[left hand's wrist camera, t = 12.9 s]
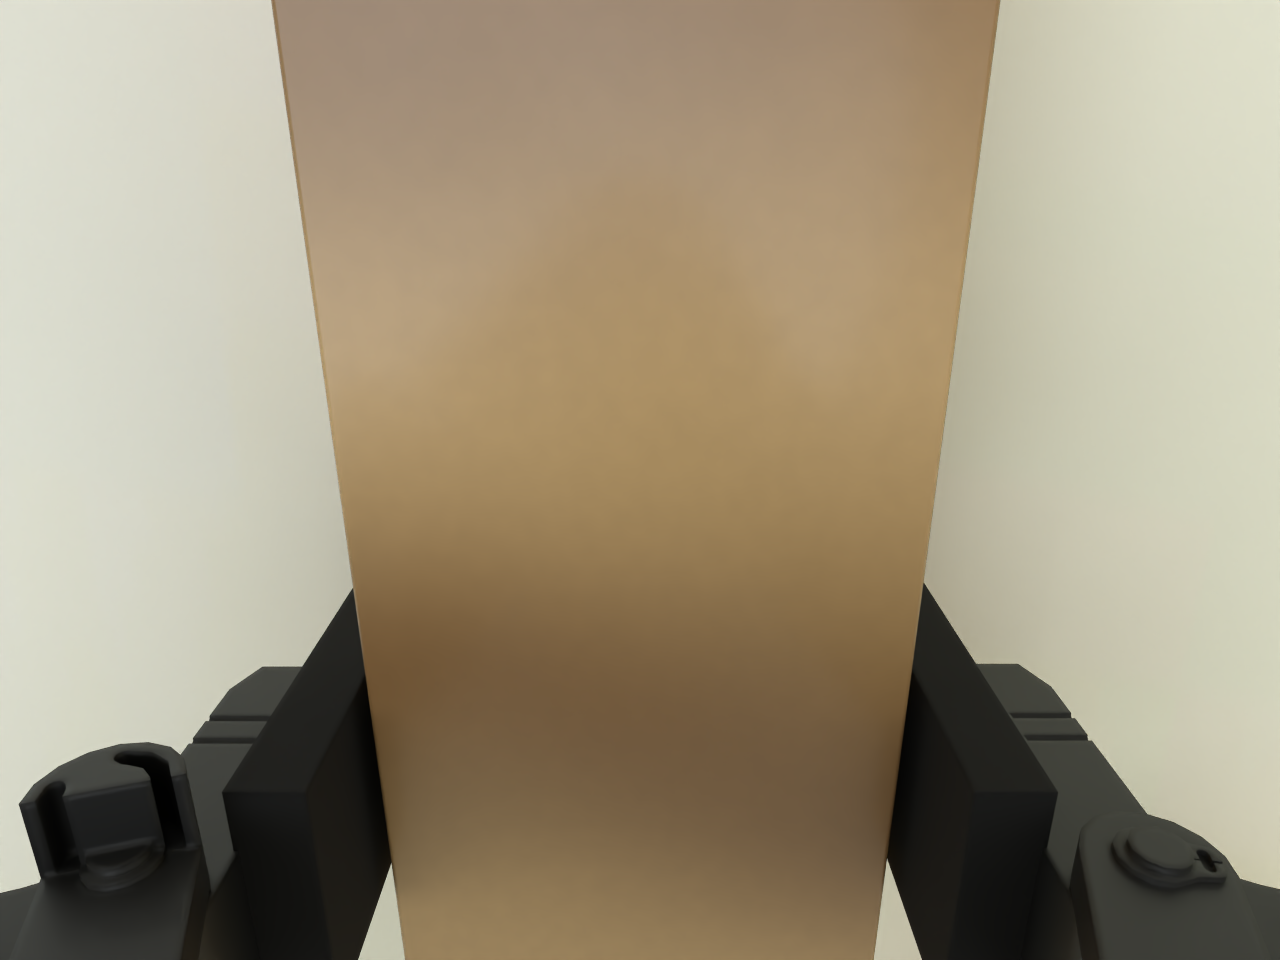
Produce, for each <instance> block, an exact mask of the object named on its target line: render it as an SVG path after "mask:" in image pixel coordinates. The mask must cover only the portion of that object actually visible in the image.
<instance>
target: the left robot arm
mask: <svg viewBox="0 0 1280 960" xmlns="http://www.w3.org/2000/svg"><path fill="white" fill-rule="evenodd" d="M19 807H20V810H21V813H22V817H23V820H24V823H25V827H26V830H27V833H28V837H29V840H30V843H31V847H32V850H33V853H34V857H35V860H36V863H37V867H38V870H39V873H40V877H41V880H40V882H39V883H37V884H34V885H31V886H27V887H24V888H20V889H16V890H12V891H7V892H3V893H0V960H358V958H359V955H360V952H361V949H362V946H363V943H364V941H365V938H366V935H367V932H368V929H369V926H370V923H371V920H372V917H373V914H374V912H375V909H376V906H377V903H378V900H379V897H380V894H381V891H382V888H383V885H384V882H385V880H386V877H387V874H388V871H389V868H390V865H391V855H390V848H389V840H388V833H387V826H386V819H385V812H384V805H383V797H382V790H381V783H380V776H379V769H378V762H377V754H376V747H375V740H374V733H373V726H372V719H371V712H370V704H369V697H368V690H367V683H366V676H365V669H364V661H363V654H362V647H361V640H360V633H359V626H358V618H357V611H356V604H355V597H354V590H353V589H352V590H351V592H350V593H349V595H348V596H347V598H346V600H345V601H344V603H343V604H342V606H341V607H340V609H339V610H338V612H337V614H336V615H335V617H334V618H333V620H332V621H331V623H330V624H329V626H328V628H327V629H326V631H325V632H324V634H323V635H322V637H321V638H320V640H319V642H318V643H317V645H316V646H315V648H314V649H313V651H312V652H311V654H310V656H309V657H308V659H307V660H306V662H305V663H304V665H303V666H302V667H261V668H260V669H259V670H257V671H256V672H254V673H253V674H251V675H250V676H248V677H247V678H245V679H244V680H243V681H241V682H240V683H238V684H237V685H235V686H234V687H232V688H231V689H230V690H229V691H228V692H227V694H226V695H225V696H224V698H223V699H222V700H221V702H220V703H219V704H218V706H217V707H216V708H215V710H214V711H213V712H212V714H211V715H210V720H209V721H206V722H205V723H204V724H203V726H202V727H201V728H200V730H199V731H198V732H197V734H196V735H195V736H194V738H193V743H192V744H188V746H187V747H186V748H185V750H184V751H183V752H182V754H181V755H180V754H179V753H177V752H176V751H175V750H174V749H173V748H171V747H169V746H164V745H159V744H154V743H149V742H145V743H130V744H119V745H115V746H111V747H107V748H104V749H100V750H96V751H92V752H89V753H87V754H84V755H82V756H80V757H78V758H76V759H74V760H71V761H69V762H67V763H65V764H63V765H61V766H59V767H57V768H56V769H54V770H53V771H52V772H50V773H49V774H48V775H46V776H45V777H43V778H42V779H41V780H39V781H38V782H37V783H35V784H34V785H33V786H32V788H31V789H30V790H29V792H28V793H27V794H26V795H25V797H24V798H23V799H22V801H21V802H20V803H19ZM887 859H888V862H889V865H890V868H891V871H892V874H893V877H894V879H895V882H896V885H897V888H898V891H899V894H900V897H901V900H902V903H903V906H904V909H905V911H906V914H907V917H908V920H909V923H910V926H911V929H912V932H913V935H914V938H915V940H916V943H917V946H918V949H919V952H920V955H921V958H922V960H1280V889H1276V888H1272V887H1268V886H1263V885H1259V884H1256V883H1252V882H1249V881H1246V880H1242V879H1240V878H1239V876H1238V875H1237V873H1236V872H1235V870H1234V869H1233V867H1232V866H1231V864H1230V863H1229V861H1228V860H1227V858H1226V857H1225V856H1224V855H1223V854H1222V853H1220V852H1219V851H1218V850H1217V849H1216V848H1214V847H1213V846H1212V845H1211V844H1210V843H1208V842H1207V841H1206V840H1205V839H1204V838H1202V837H1201V836H1199V835H1197V834H1195V833H1193V832H1191V831H1189V830H1187V829H1186V828H1184V827H1182V826H1180V825H1178V824H1176V823H1174V822H1171V821H1168V820H1165V819H1161V818H1158V817H1155V816H1151V815H1148V814H1147V813H1146V812H1145V811H1144V809H1143V808H1142V807H1141V805H1140V804H1139V803H1138V801H1137V800H1136V799H1135V797H1134V796H1133V795H1132V793H1131V792H1130V791H1129V789H1128V788H1127V787H1126V785H1125V784H1124V783H1123V781H1122V780H1121V779H1120V777H1119V776H1118V775H1117V773H1116V772H1115V771H1114V770H1113V768H1112V767H1111V766H1110V764H1109V763H1108V762H1107V760H1106V759H1105V758H1104V756H1103V755H1102V754H1101V752H1100V751H1099V750H1098V748H1097V747H1096V746H1095V744H1094V743H1093V742H1092V741H1088V738H1087V734H1086V732H1085V731H1084V730H1083V728H1082V727H1081V726H1080V724H1079V723H1078V722H1077V720H1076V719H1075V718H1071V712H1070V711H1069V710H1068V708H1067V707H1066V706H1065V704H1064V703H1063V702H1062V701H1061V699H1060V698H1059V697H1058V695H1057V694H1056V693H1055V691H1054V690H1053V689H1052V687H1051V686H1049V685H1048V684H1046V683H1045V682H1044V681H1042V680H1041V679H1039V678H1038V677H1036V676H1035V675H1033V674H1032V673H1030V672H1029V671H1027V670H1026V669H1025V668H1023V667H1022V666H1020V665H1019V664H976V663H975V662H974V660H973V659H972V657H971V655H970V654H969V652H968V651H967V649H966V648H965V646H964V645H963V643H962V641H961V640H960V638H959V637H958V635H957V634H956V632H955V631H954V629H953V627H952V626H951V624H950V623H949V621H948V620H947V618H946V617H945V615H944V613H943V612H942V610H941V609H940V607H939V606H938V604H937V603H936V601H935V599H934V598H933V596H932V595H931V593H930V592H929V590H928V589H927V587H926V585H925V584H924V582H923V589H922V597H921V604H920V612H919V619H918V627H917V635H916V642H915V650H914V657H913V665H912V672H911V680H910V688H909V695H908V703H907V710H906V718H905V725H904V733H903V740H902V748H901V756H900V763H899V771H898V778H897V786H896V793H895V801H894V809H893V816H892V824H891V831H890V839H889V846H888V854H887Z"/></svg>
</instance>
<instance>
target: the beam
mask: <svg viewBox="0 0 1280 960" xmlns="http://www.w3.org/2000/svg"><path fill="white" fill-rule="evenodd" d="M271 3H272V10H273V17H274V24H275V31H276V38H277V46H278V53H279V60H280V67H281V74H282V81H283V89H284V96H285V103H286V110H287V117H288V124H289V131H290V139H291V146H292V153H293V160H294V167H295V174H296V182H297V189H298V196H299V203H300V210H301V217H302V225H303V232H304V239H305V246H306V253H307V260H308V268H309V275H310V282H311V289H312V296H313V303H314V311H315V318H316V325H317V332H318V339H319V346H320V353H321V361H322V368H323V375H324V382H325V389H326V396H327V404H328V411H329V418H330V425H331V432H332V439H333V447H334V454H335V461H336V468H337V475H338V482H339V490H340V497H341V504H342V511H343V518H344V525H345V532H346V540H347V547H348V554H349V561H350V568H351V575H352V583H353V590H354V597H355V604H356V611H357V618H358V626H359V633H360V640H361V647H362V654H363V661H364V669H365V676H366V683H367V690H368V697H369V704H370V712H371V719H372V726H373V733H374V740H375V747H376V754H377V762H378V769H379V776H380V783H381V790H382V797H383V805H384V812H385V819H386V826H387V833H388V840H389V848H390V855H391V862H392V869H393V876H394V883H395V891H396V898H397V905H398V912H399V919H400V926H401V934H402V941H403V948H404V955H405V960H874V952H875V945H876V937H877V929H878V922H879V914H880V907H881V899H882V892H883V884H884V877H885V869H886V861H887V854H888V846H889V839H890V831H891V824H892V816H893V809H894V801H895V793H896V786H897V778H898V771H899V763H900V756H901V748H902V740H903V733H904V725H905V718H906V710H907V703H908V695H909V688H910V680H911V672H912V665H913V657H914V650H915V642H916V635H917V627H918V619H919V612H920V604H921V597H922V589H923V582H924V574H925V567H926V559H927V551H928V544H929V536H930V529H931V521H932V514H933V506H934V498H935V491H936V483H937V476H938V468H939V461H940V453H941V446H942V438H943V430H944V423H945V415H946V408H947V400H948V393H949V385H950V377H951V370H952V362H953V355H954V347H955V340H956V332H957V325H958V317H959V309H960V302H961V294H962V287H963V279H964V272H965V264H966V256H967V249H968V241H969V234H970V226H971V219H972V211H973V204H974V196H975V188H976V181H977V173H978V166H979V158H980V151H981V143H982V136H983V128H984V120H985V113H986V105H987V98H988V90H989V83H990V75H991V67H992V60H993V52H994V45H995V37H996V30H997V22H998V15H999V7H1000V0H271Z"/></svg>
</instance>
